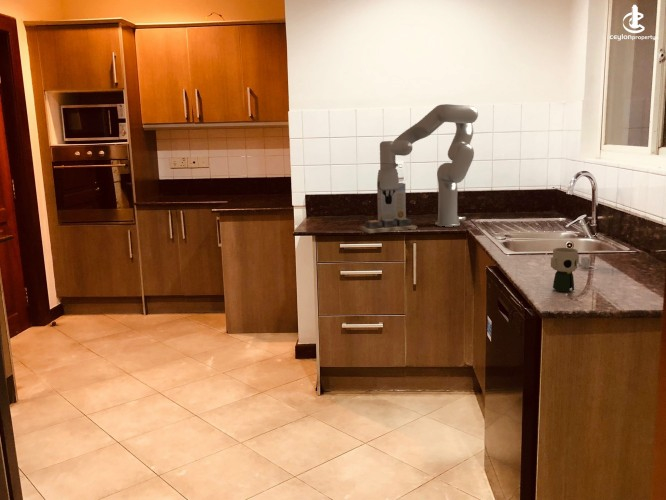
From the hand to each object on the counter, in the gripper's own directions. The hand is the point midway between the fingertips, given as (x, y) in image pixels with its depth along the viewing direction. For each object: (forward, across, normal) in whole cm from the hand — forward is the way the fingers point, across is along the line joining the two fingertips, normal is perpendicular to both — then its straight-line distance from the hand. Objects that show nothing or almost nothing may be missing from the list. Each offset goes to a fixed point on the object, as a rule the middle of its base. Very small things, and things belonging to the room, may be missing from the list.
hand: (388, 203), depth 310 cm
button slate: (+11, 0, 0) cm, 11 cm away
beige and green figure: (+13, +1, +128) cm, 129 cm away
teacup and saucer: (+14, -30, +107) cm, 112 cm away
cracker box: (+13, -10, -17) cm, 23 cm away
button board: (+13, 0, 0) cm, 13 cm away
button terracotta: (+11, +8, 0) cm, 14 cm away
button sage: (+11, -8, 0) cm, 13 cm away
